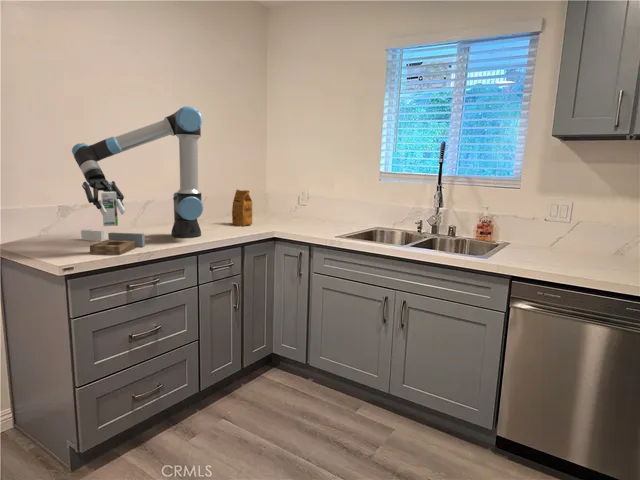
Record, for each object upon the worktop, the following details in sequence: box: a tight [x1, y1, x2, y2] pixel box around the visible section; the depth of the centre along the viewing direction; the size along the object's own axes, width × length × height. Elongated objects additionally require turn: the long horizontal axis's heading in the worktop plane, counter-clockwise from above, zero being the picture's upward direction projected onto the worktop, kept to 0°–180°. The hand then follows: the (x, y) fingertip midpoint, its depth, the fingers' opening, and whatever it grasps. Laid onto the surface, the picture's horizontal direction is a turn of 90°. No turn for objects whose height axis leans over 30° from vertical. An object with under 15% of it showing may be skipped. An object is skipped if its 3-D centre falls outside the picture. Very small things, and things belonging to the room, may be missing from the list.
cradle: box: [89, 239, 136, 256], centre depth 192 cm, size 13×13×4 cm
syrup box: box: [100, 191, 119, 227], centre depth 189 cm, size 6×6×14 cm
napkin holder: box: [80, 228, 105, 242], centre depth 218 cm, size 15×11×6 cm
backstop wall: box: [107, 232, 146, 248], centre depth 204 cm, size 16×2×6 cm, turn 86°
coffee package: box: [231, 188, 253, 227], centre depth 275 cm, size 10×12×22 cm
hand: (114, 213), depth 187 cm, fingers closed on syrup box, 7 cm apart
